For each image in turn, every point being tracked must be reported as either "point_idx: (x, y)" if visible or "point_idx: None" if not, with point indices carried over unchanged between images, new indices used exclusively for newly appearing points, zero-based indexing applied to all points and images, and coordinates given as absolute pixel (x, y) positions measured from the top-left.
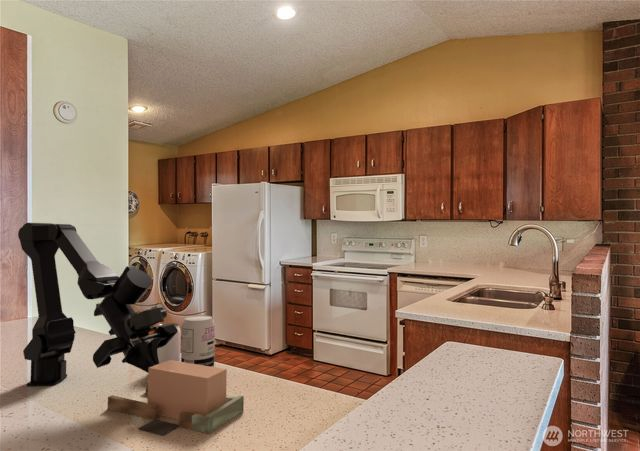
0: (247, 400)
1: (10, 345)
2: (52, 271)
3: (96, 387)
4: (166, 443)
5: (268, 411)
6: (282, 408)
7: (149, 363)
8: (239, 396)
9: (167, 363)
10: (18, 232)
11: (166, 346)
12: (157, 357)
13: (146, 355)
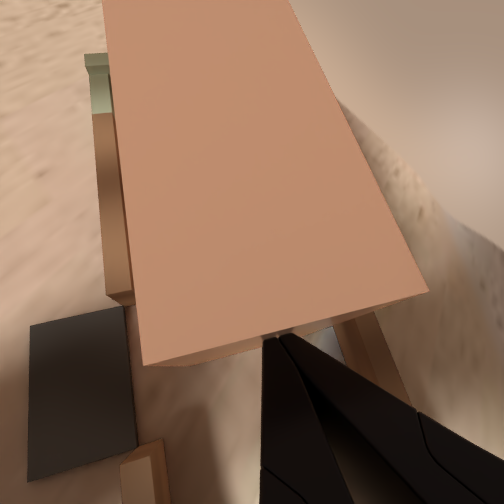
0: (19, 135)
1: None
2: None
3: None
4: (356, 125)
5: (70, 53)
6: (31, 37)
7: (389, 402)
8: (96, 60)
9: (244, 265)
10: None
11: None
12: (271, 473)
13: (500, 491)
